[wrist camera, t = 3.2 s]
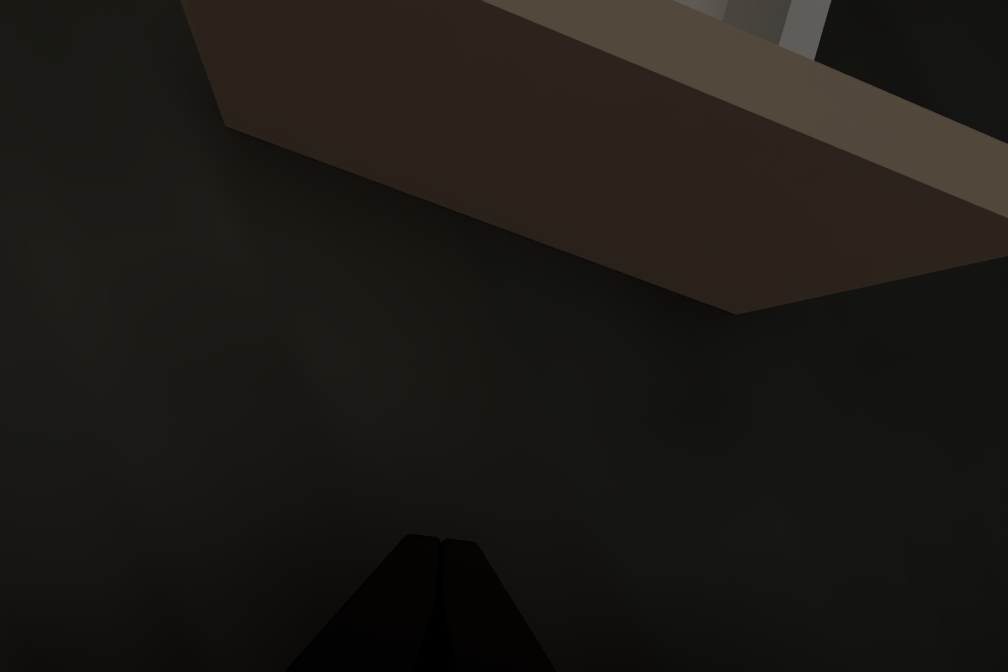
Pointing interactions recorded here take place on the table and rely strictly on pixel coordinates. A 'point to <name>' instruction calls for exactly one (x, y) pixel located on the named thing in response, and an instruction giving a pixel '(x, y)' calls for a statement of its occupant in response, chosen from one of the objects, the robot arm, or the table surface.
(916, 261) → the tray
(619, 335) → the table surface
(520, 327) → the table surface
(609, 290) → the table surface
